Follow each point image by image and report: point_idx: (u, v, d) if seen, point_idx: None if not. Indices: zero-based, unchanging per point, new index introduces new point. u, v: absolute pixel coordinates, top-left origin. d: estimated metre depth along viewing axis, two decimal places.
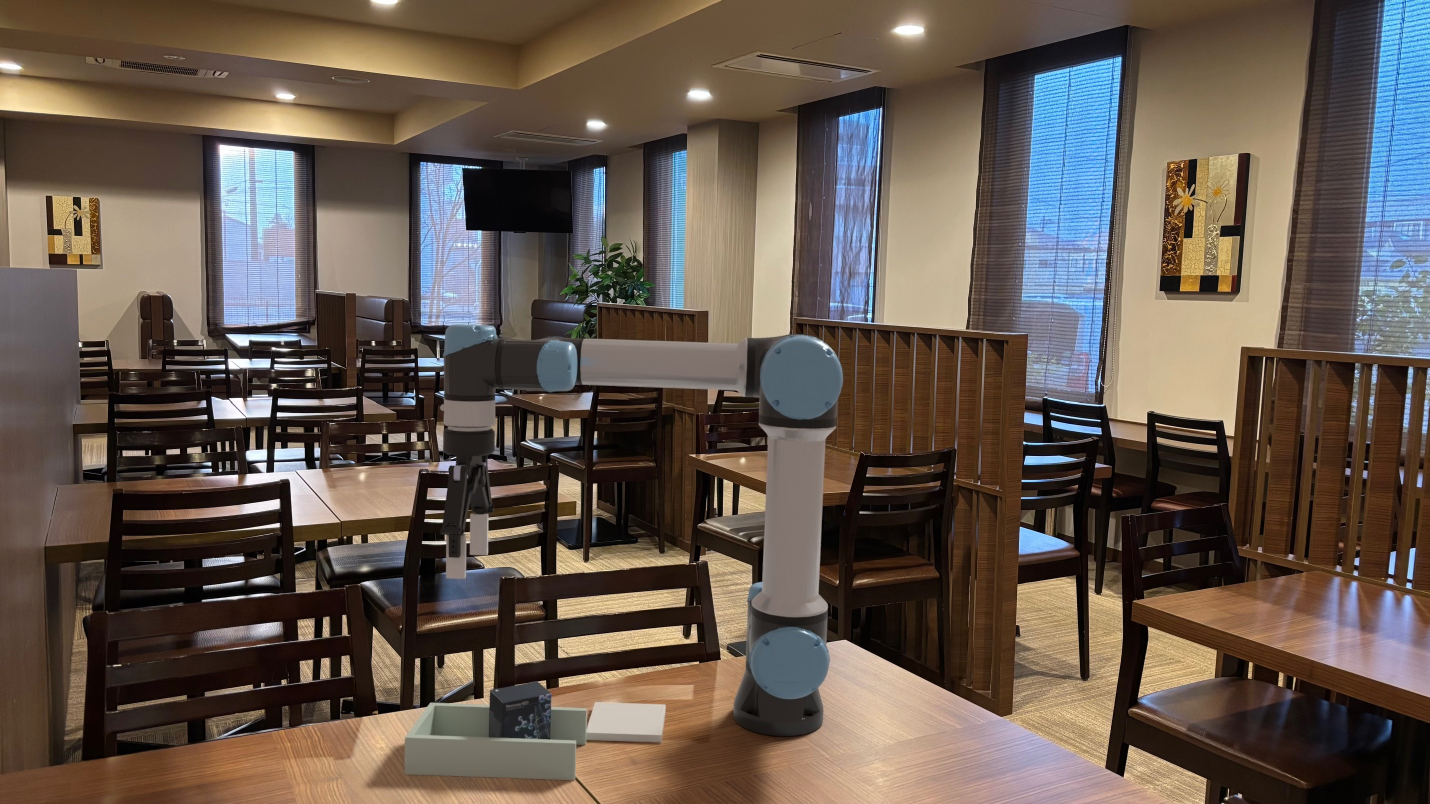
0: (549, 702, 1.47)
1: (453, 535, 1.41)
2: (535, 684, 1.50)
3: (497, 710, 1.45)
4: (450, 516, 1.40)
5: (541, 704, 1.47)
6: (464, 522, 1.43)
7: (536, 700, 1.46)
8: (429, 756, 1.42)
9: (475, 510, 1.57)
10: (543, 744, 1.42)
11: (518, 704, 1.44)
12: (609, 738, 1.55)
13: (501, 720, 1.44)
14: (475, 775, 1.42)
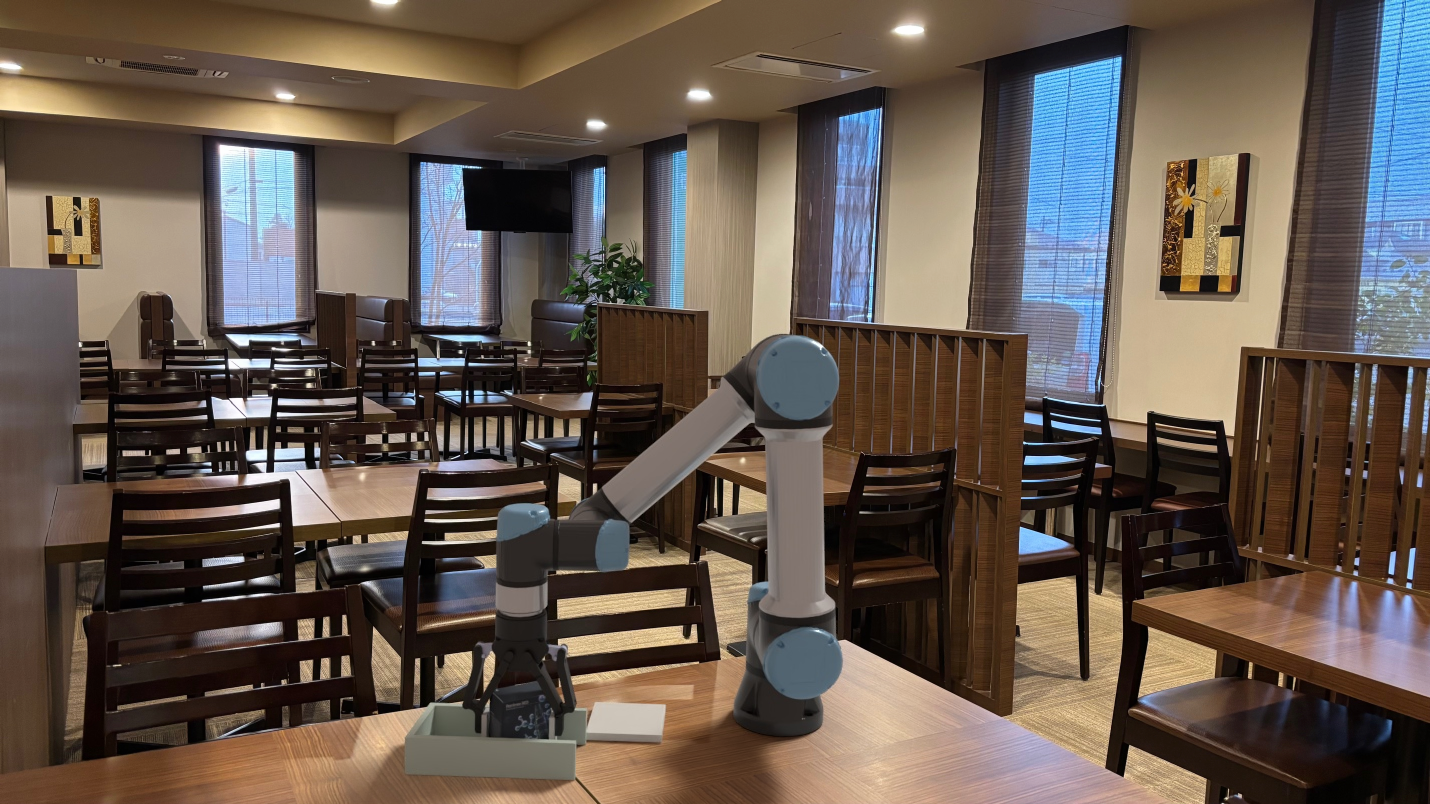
0: None
1: None
2: (535, 684, 1.50)
3: (497, 709, 1.45)
4: None
5: (541, 704, 1.47)
6: (481, 702, 1.46)
7: (536, 699, 1.46)
8: (429, 756, 1.42)
9: None
10: (543, 744, 1.42)
11: (518, 704, 1.44)
12: (609, 738, 1.55)
13: (501, 720, 1.44)
14: (475, 775, 1.42)
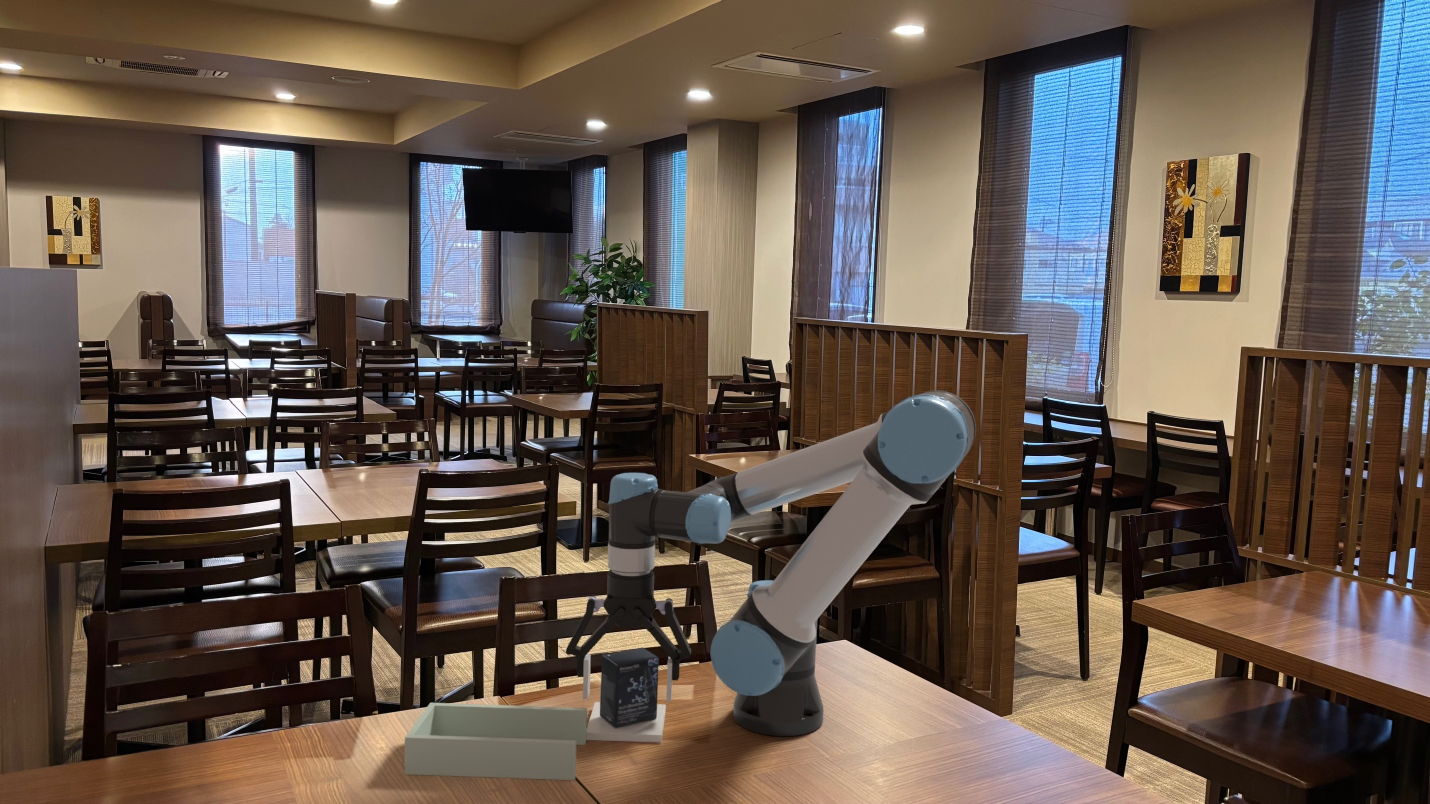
0: (657, 666, 1.60)
1: None
2: (642, 650, 1.63)
3: (610, 672, 1.58)
4: None
5: (650, 668, 1.59)
6: (585, 648, 1.59)
7: (645, 663, 1.59)
8: (429, 756, 1.42)
9: None
10: (543, 744, 1.42)
11: (630, 667, 1.57)
12: (609, 738, 1.55)
13: (615, 682, 1.56)
14: (475, 775, 1.42)
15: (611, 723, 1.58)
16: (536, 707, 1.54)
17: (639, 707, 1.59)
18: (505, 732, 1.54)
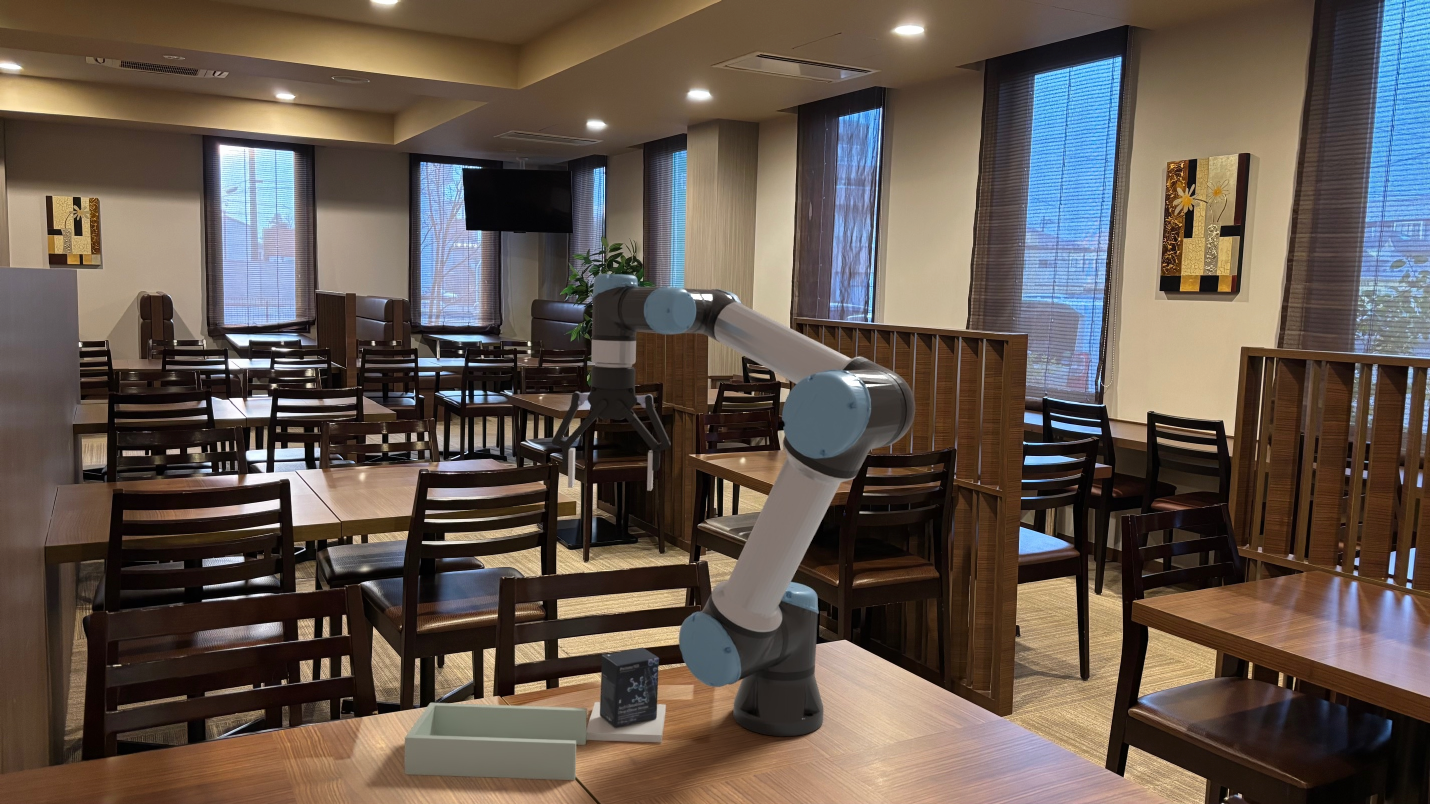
0: (657, 666, 1.60)
1: (561, 447, 1.70)
2: (642, 650, 1.63)
3: (610, 672, 1.58)
4: None
5: (650, 668, 1.59)
6: (570, 439, 1.69)
7: (645, 663, 1.59)
8: (429, 756, 1.42)
9: None
10: (543, 744, 1.42)
11: (630, 667, 1.57)
12: (609, 738, 1.55)
13: (615, 682, 1.56)
14: (475, 775, 1.42)
15: (611, 723, 1.58)
16: (536, 707, 1.54)
17: (639, 707, 1.59)
18: (505, 732, 1.54)
